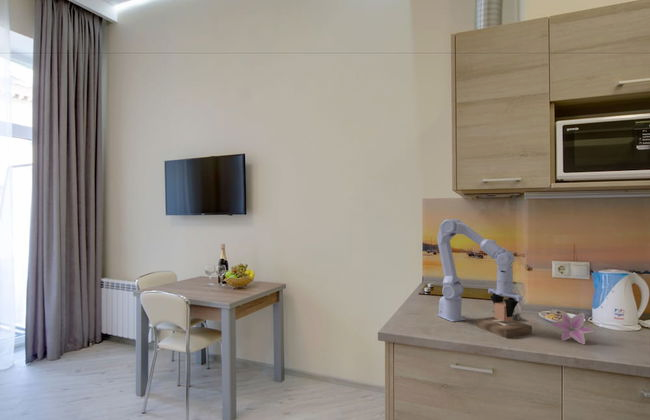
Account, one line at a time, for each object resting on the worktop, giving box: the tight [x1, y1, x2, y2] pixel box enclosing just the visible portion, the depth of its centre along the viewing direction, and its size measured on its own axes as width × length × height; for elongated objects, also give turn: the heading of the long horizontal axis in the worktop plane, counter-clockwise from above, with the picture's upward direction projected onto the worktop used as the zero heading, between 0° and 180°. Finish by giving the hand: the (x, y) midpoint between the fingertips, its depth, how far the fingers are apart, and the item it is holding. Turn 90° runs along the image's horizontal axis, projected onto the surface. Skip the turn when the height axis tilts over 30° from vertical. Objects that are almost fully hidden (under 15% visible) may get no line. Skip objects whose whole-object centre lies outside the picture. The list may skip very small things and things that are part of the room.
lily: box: [550, 312, 594, 345], centre depth 134 cm, size 12×12×10 cm
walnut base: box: [476, 316, 533, 339], centre depth 143 cm, size 14×14×3 cm
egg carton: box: [491, 309, 522, 321], centre depth 160 cm, size 11×8×4 cm
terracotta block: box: [493, 301, 512, 321], centre depth 143 cm, size 5×5×6 cm
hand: (504, 314), depth 143 cm, fingers closed on terracotta block, 4 cm apart
